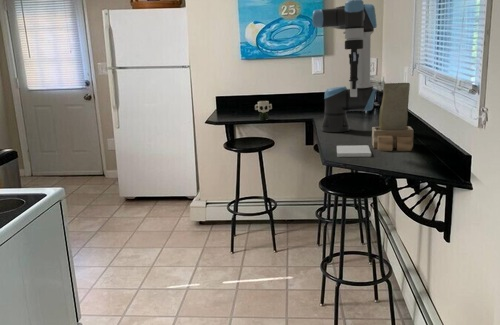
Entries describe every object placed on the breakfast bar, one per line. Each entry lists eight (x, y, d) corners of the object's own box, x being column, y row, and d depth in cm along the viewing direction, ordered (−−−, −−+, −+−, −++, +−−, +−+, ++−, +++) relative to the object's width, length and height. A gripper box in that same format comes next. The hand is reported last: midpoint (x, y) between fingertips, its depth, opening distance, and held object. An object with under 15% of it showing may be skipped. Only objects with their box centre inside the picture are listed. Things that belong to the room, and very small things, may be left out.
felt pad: (336, 148, 216) (336, 145, 216) (368, 148, 214) (368, 145, 214) (337, 156, 201) (337, 153, 201) (371, 156, 199) (371, 153, 198)
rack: (371, 143, 224) (372, 126, 222) (409, 143, 221) (409, 126, 219) (373, 148, 215) (374, 130, 213) (412, 147, 212) (413, 130, 210)
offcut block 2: (395, 148, 212) (396, 135, 210) (409, 148, 211) (410, 135, 209) (397, 150, 208) (397, 137, 206) (411, 150, 207) (411, 137, 205)
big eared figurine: (255, 122, 303) (254, 102, 300) (255, 121, 310) (254, 101, 307) (272, 122, 303) (272, 101, 300) (271, 120, 310) (271, 100, 307)
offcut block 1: (377, 148, 213) (377, 135, 212) (391, 148, 212) (391, 135, 211) (378, 150, 209) (378, 137, 208) (392, 150, 208) (392, 137, 207)
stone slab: (404, 143, 219) (410, 81, 204) (405, 147, 215) (412, 84, 201) (376, 142, 221) (381, 81, 206) (377, 147, 217) (382, 84, 203)
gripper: (344, 40, 205) (344, 94, 210) (345, 39, 189) (345, 98, 195) (362, 39, 203) (361, 94, 209) (364, 38, 188) (363, 98, 194)
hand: (353, 96), depth 202 cm, fingers open, 3 cm apart
